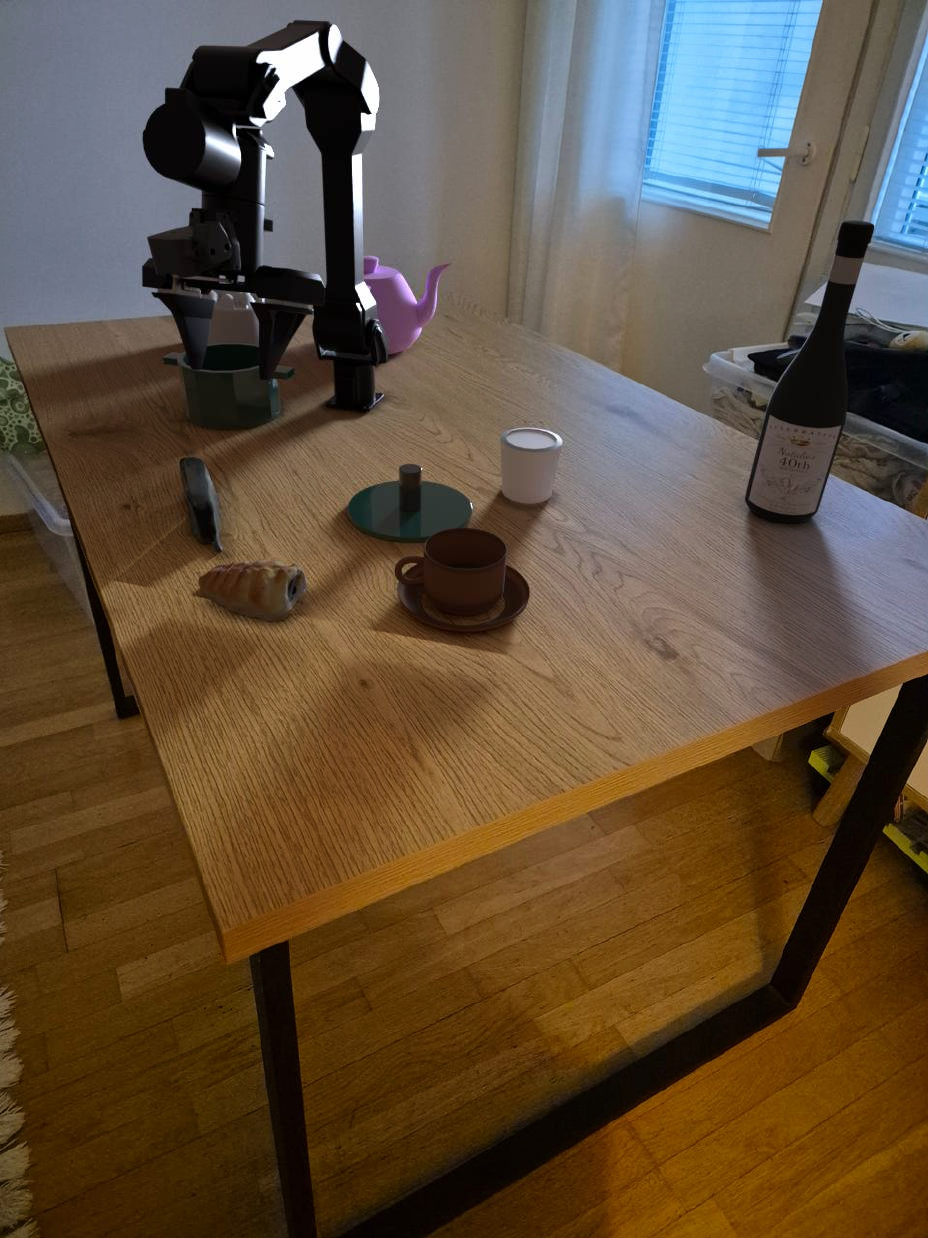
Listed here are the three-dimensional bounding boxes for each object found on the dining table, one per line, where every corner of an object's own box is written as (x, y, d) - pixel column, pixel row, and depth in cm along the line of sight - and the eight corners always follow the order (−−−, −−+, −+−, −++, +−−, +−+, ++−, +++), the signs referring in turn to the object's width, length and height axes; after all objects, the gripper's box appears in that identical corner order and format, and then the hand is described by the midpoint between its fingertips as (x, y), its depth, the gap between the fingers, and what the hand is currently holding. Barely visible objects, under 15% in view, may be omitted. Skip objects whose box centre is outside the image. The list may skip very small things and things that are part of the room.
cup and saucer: (426, 657, 71) (426, 595, 68) (379, 585, 80) (378, 527, 76) (551, 627, 75) (558, 568, 72) (494, 562, 84) (497, 507, 81)
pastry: (187, 610, 75) (180, 574, 73) (220, 573, 81) (215, 538, 79) (286, 626, 74) (283, 589, 72) (314, 587, 79) (311, 551, 77)
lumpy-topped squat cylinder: (266, 331, 145) (260, 278, 140) (279, 354, 135) (274, 298, 130) (203, 335, 142) (196, 281, 137) (213, 359, 132) (205, 302, 127)
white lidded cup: (562, 489, 98) (569, 432, 94) (548, 514, 93) (554, 455, 89) (506, 479, 100) (510, 422, 96) (488, 503, 95) (492, 444, 91)
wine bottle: (814, 532, 92) (906, 233, 75) (739, 518, 94) (812, 224, 77) (816, 501, 98) (901, 219, 81) (746, 489, 100) (814, 211, 83)
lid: (373, 482, 98) (372, 436, 95) (485, 499, 96) (487, 452, 92) (328, 535, 88) (325, 485, 84) (453, 556, 85) (454, 505, 82)
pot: (198, 389, 121) (190, 336, 117) (313, 404, 118) (309, 350, 114) (150, 419, 111) (139, 363, 107) (274, 437, 108) (268, 379, 104)
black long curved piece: (173, 454, 91) (191, 512, 80) (202, 451, 92) (223, 508, 81) (181, 496, 94) (198, 558, 82) (209, 492, 95) (230, 553, 83)
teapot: (447, 370, 132) (449, 276, 124) (307, 364, 132) (301, 270, 124) (450, 329, 150) (452, 245, 142) (328, 324, 150) (323, 240, 142)
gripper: (92, 182, 76) (96, 361, 81) (247, 185, 68) (242, 384, 73) (186, 206, 86) (185, 365, 91) (333, 211, 78) (323, 386, 82)
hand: (229, 374), depth 84 cm, fingers open, 9 cm apart
